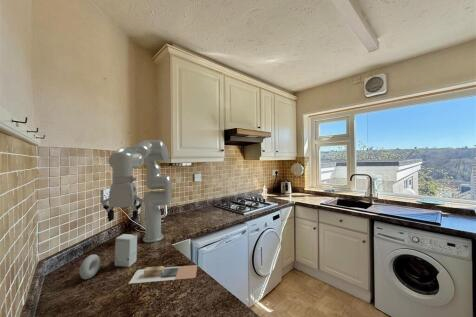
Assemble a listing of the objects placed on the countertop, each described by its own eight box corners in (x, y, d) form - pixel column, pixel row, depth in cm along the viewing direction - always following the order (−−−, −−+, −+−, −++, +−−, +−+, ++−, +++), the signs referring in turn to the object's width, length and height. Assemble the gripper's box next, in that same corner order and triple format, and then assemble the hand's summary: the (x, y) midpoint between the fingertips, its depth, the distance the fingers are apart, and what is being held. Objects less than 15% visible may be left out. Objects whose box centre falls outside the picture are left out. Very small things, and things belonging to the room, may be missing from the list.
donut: (95, 270, 93) (94, 250, 93) (102, 270, 93) (101, 250, 93) (77, 284, 83) (77, 261, 83) (85, 284, 83) (84, 261, 83)
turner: (142, 279, 84) (142, 272, 84) (147, 271, 90) (146, 265, 90) (176, 276, 86) (175, 270, 86) (178, 269, 92) (178, 263, 92)
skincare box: (114, 268, 95) (113, 238, 95) (123, 261, 101) (122, 233, 101) (129, 269, 94) (129, 239, 94) (137, 262, 100) (137, 234, 100)
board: (137, 272, 92) (137, 269, 92) (197, 267, 95) (197, 265, 95) (128, 286, 82) (128, 283, 82) (195, 280, 85) (195, 277, 85)
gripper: (146, 179, 89) (146, 216, 89) (106, 180, 87) (106, 218, 86) (140, 181, 81) (140, 221, 81) (96, 182, 79) (96, 223, 79)
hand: (123, 219), depth 84 cm, fingers open, 9 cm apart
